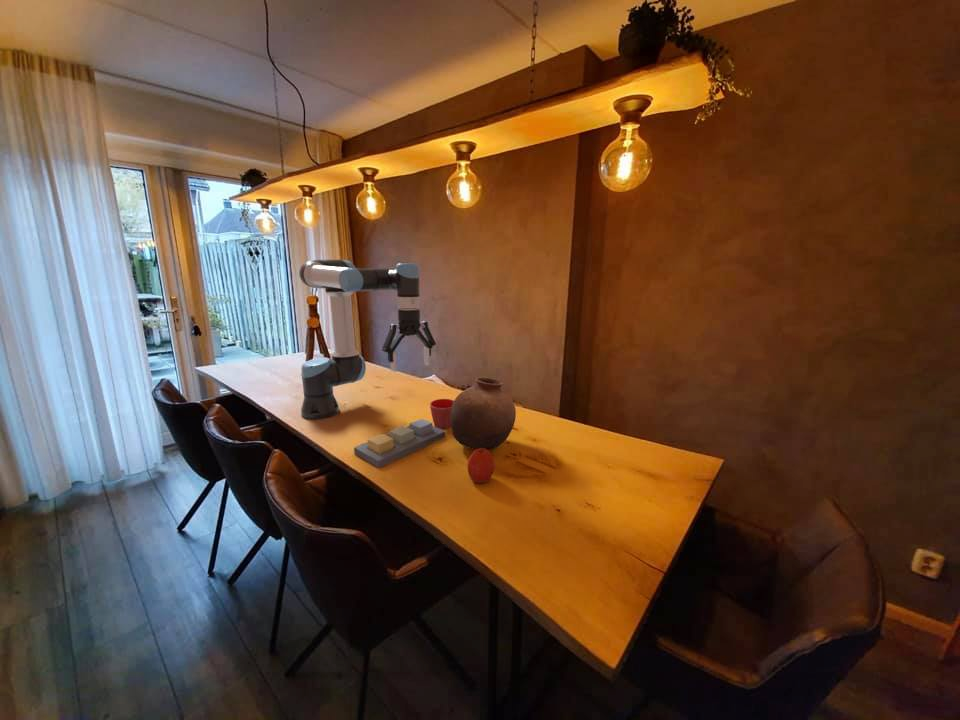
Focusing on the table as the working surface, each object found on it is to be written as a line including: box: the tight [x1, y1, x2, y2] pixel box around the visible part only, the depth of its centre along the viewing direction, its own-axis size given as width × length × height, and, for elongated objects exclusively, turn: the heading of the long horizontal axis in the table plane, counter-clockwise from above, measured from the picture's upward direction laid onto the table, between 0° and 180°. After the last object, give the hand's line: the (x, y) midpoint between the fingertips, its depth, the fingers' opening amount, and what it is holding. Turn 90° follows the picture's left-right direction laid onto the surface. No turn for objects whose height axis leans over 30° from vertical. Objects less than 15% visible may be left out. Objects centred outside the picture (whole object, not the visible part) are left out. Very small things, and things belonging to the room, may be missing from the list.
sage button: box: [389, 425, 414, 445], centre depth 136 cm, size 6×6×4 cm
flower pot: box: [429, 398, 455, 430], centre depth 153 cm, size 11×11×10 cm
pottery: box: [450, 377, 517, 451], centre depth 134 cm, size 23×23×25 cm
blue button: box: [409, 418, 433, 436], centre depth 143 cm, size 6×6×4 cm
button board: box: [353, 425, 447, 469], centre depth 136 cm, size 14×30×2 cm, turn 140°
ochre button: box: [367, 433, 394, 454], centre depth 129 cm, size 6×6×4 cm
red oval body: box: [467, 448, 496, 484], centre depth 114 cm, size 8×8×11 cm
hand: (410, 367), depth 137 cm, fingers open, 13 cm apart
